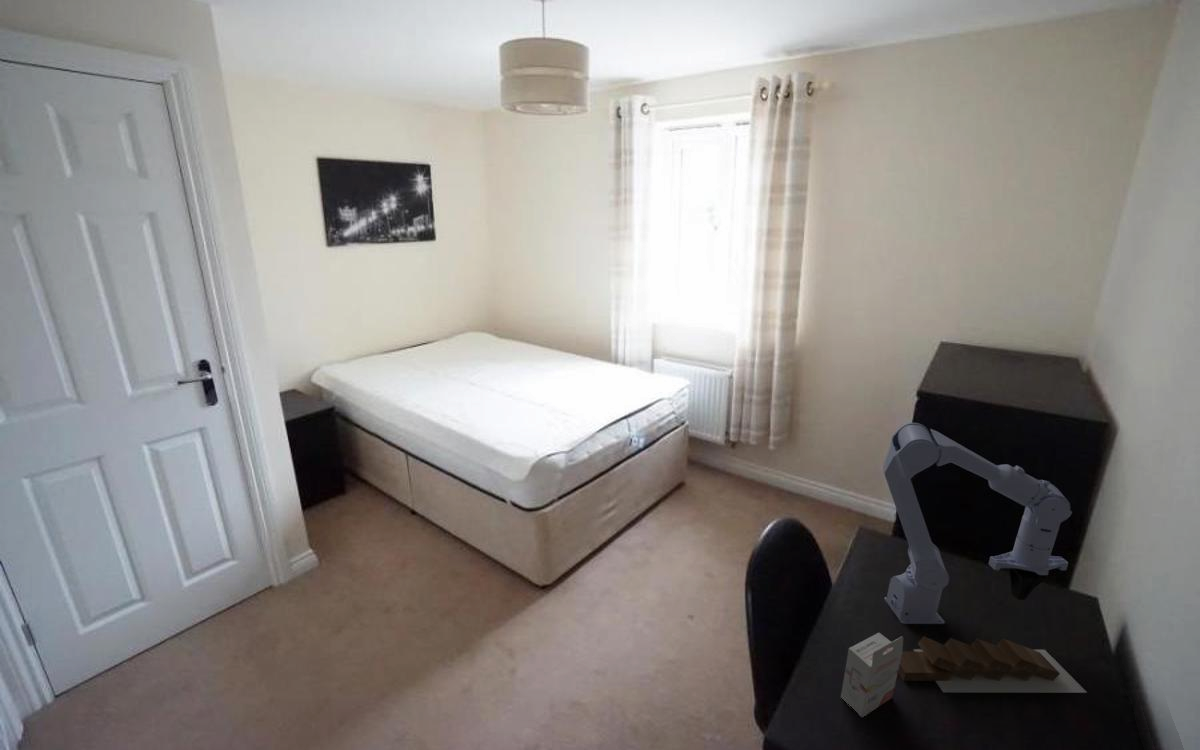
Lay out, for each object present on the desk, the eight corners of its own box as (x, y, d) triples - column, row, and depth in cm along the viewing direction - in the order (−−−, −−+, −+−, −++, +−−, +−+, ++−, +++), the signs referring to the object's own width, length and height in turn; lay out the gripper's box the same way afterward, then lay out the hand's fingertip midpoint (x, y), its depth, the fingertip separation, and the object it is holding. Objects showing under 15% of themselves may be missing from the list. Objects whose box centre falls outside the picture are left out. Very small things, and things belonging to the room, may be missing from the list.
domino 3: (999, 680, 102) (960, 665, 101) (981, 659, 107) (944, 644, 105) (1005, 673, 101) (966, 658, 100) (987, 652, 106) (950, 637, 105)
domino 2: (971, 680, 102) (932, 664, 101) (954, 659, 107) (917, 643, 105) (977, 673, 101) (938, 656, 100) (960, 651, 106) (923, 636, 105)
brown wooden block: (1053, 680, 102) (1014, 666, 101) (1033, 659, 107) (996, 645, 106) (1060, 673, 101) (1021, 658, 100) (1039, 652, 106) (1002, 638, 105)
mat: (942, 693, 100) (943, 692, 99) (912, 650, 109) (913, 649, 109) (1086, 694, 100) (1087, 692, 99) (1044, 651, 109) (1044, 649, 109)
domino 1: (950, 680, 102) (903, 680, 102) (934, 659, 107) (889, 659, 107) (952, 672, 101) (905, 672, 101) (936, 651, 106) (891, 651, 106)
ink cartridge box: (868, 679, 103) (881, 617, 98) (892, 699, 98) (907, 636, 94) (838, 697, 99) (850, 634, 94) (861, 719, 95) (875, 654, 90)
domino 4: (1027, 680, 102) (988, 666, 101) (1007, 659, 107) (970, 645, 106) (1033, 673, 101) (994, 659, 100) (1014, 652, 106) (976, 638, 105)
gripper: (1013, 553, 103) (996, 610, 107) (1088, 553, 103) (1068, 610, 107) (988, 531, 110) (973, 586, 114) (1058, 532, 110) (1041, 586, 114)
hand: (1017, 596), depth 111 cm, fingers closed
